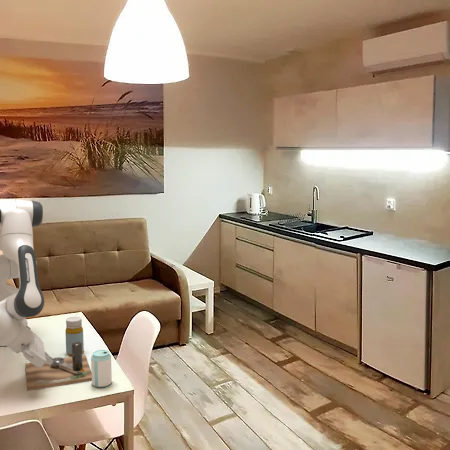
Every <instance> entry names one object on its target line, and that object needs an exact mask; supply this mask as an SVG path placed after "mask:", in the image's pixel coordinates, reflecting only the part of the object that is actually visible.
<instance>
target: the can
mask: <svg viewBox="0 0 450 450" xmlns="http://www.w3.org/2000/svg"><path fill="white" fill-rule="evenodd" d="M90 360H91V362H90V365H91V367H90V369H91V372H92V381H91V384H92V386H94V387H96V388H105V387H108V386H110V385H111V384H112V380H113V379H112V378H113V376H112V373H113V372H112V355H111V354H110V351H109V350H108V349H107V350H106V349H98V350H95V351H93V353H92V355H91V358H90Z"/></svg>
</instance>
